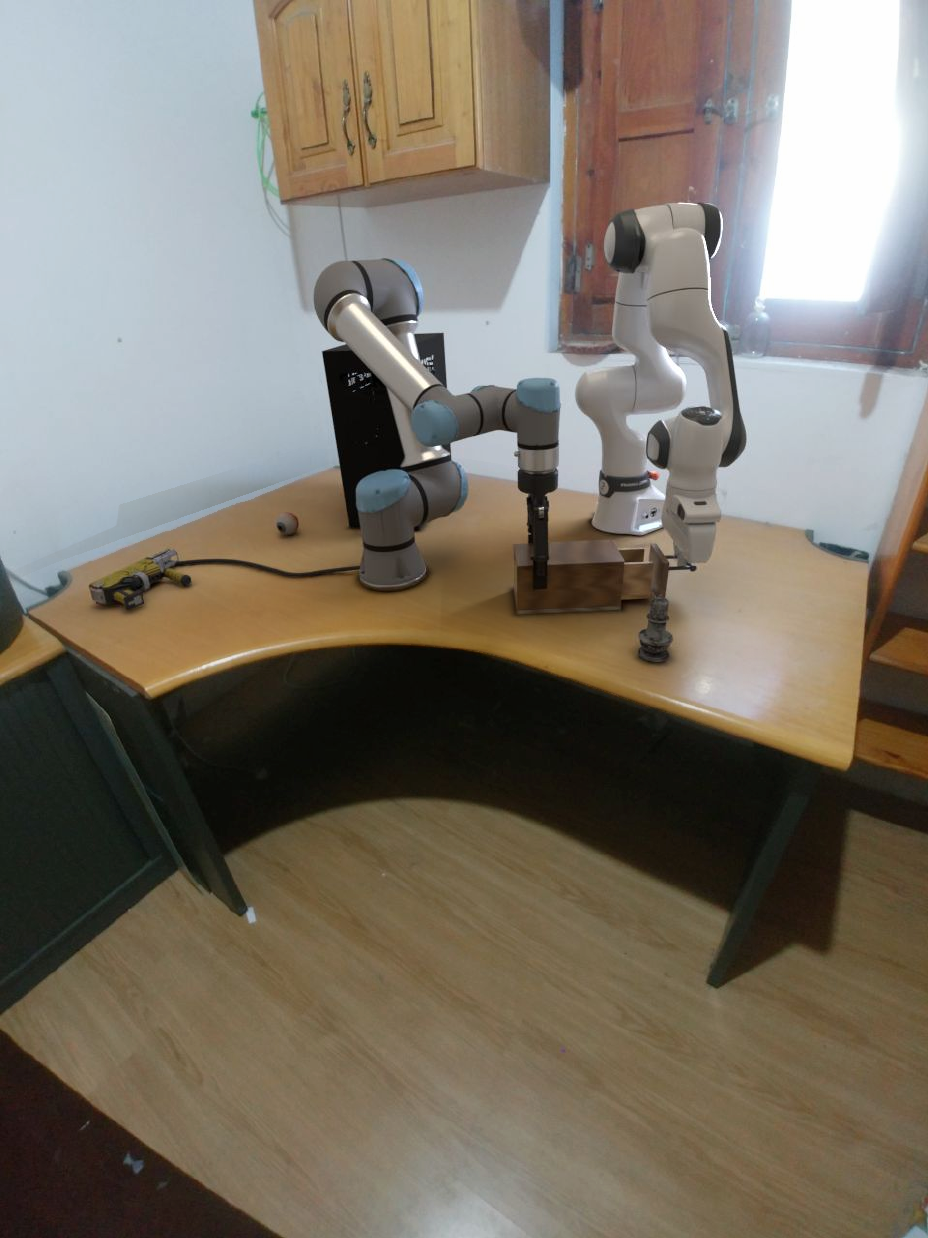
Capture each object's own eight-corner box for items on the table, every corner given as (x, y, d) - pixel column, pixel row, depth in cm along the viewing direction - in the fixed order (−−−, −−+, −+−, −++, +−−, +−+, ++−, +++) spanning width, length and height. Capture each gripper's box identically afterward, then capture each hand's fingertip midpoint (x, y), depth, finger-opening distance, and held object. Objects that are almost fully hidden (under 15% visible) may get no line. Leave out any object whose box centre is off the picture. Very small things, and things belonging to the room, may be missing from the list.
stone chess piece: (672, 664, 103) (681, 602, 97) (636, 661, 104) (643, 600, 98) (669, 645, 108) (677, 585, 102) (635, 643, 109) (641, 584, 103)
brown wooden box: (609, 585, 130) (613, 539, 124) (620, 609, 120) (624, 561, 115) (513, 589, 130) (513, 543, 125) (517, 614, 121) (516, 566, 115)
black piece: (419, 530, 162) (402, 348, 140) (349, 527, 167) (321, 351, 144) (453, 486, 194) (443, 332, 171) (393, 485, 198) (376, 334, 176)
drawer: (680, 579, 128) (685, 541, 124) (694, 600, 120) (701, 561, 115) (561, 584, 129) (562, 547, 125) (568, 606, 120) (569, 567, 116)
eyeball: (273, 537, 164) (268, 516, 161) (287, 528, 169) (282, 508, 166) (291, 539, 161) (286, 518, 158) (305, 530, 166) (301, 510, 163)
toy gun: (215, 556, 146) (165, 546, 150) (137, 598, 126) (82, 584, 130) (218, 574, 148) (168, 563, 152) (142, 617, 128) (87, 603, 132)
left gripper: (513, 452, 122) (514, 552, 133) (522, 489, 101) (522, 603, 112) (550, 450, 121) (549, 551, 132) (566, 487, 101) (563, 601, 112)
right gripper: (657, 481, 123) (650, 543, 130) (689, 518, 106) (678, 588, 113) (689, 479, 123) (680, 542, 130) (725, 516, 105) (712, 586, 113)
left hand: (537, 575), depth 122 cm, fingers closed on brown wooden box, 11 cm apart
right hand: (679, 564), depth 121 cm, fingers closed
